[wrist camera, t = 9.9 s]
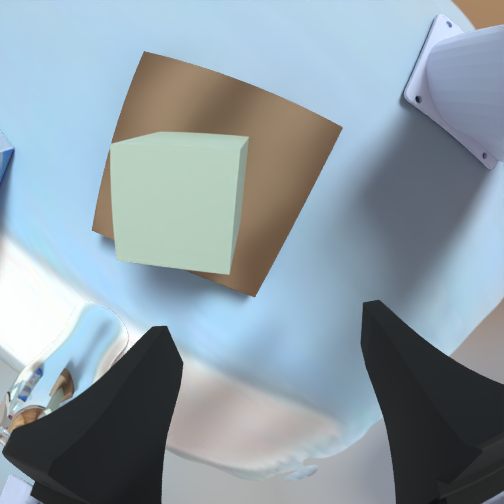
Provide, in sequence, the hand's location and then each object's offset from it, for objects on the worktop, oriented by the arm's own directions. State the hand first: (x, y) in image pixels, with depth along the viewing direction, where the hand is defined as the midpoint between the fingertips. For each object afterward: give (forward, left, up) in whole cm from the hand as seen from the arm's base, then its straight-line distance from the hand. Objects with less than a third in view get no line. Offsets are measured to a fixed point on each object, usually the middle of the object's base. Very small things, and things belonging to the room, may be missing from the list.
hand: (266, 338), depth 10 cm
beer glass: (+10, +15, -11) cm, 21 cm away
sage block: (+5, -2, -8) cm, 10 cm away
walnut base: (+5, -2, -10) cm, 12 cm away
